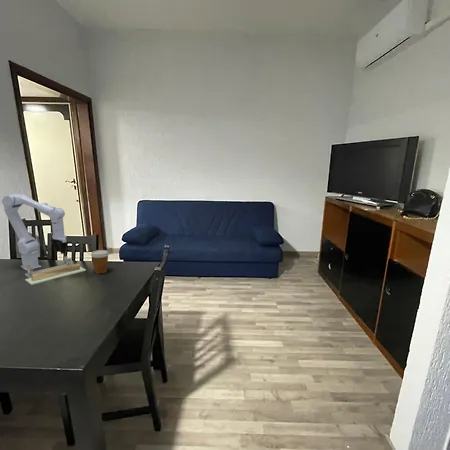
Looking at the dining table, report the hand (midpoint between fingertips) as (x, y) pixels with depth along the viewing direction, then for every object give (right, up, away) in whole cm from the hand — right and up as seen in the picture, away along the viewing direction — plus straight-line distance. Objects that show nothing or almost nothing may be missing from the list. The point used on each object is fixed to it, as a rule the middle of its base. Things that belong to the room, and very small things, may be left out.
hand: (60, 252), depth 167 cm
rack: (-5, -11, -2) cm, 12 cm away
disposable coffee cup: (+24, -12, -1) cm, 27 cm away
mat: (+3, -12, -8) cm, 15 cm away
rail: (+3, -12, -8) cm, 14 cm away
